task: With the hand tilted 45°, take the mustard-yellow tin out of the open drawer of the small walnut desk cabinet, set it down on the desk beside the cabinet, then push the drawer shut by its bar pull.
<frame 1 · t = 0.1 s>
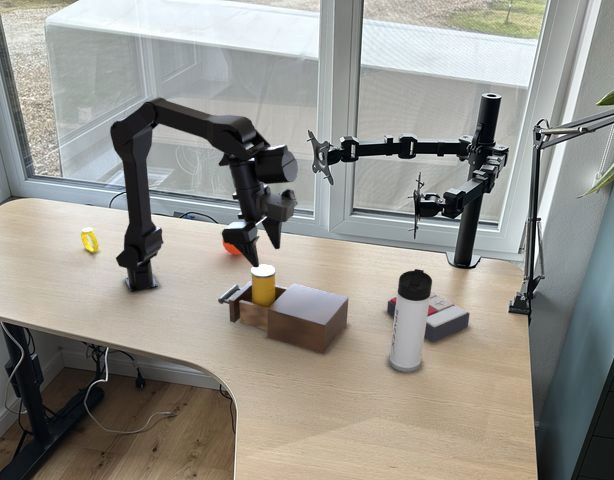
hand: (267, 257, 137), 15 cm above the table, tool pointing down, fingers open, 9 cm apart
drawer: (258, 303, 145), point 4 cm above the table, slide at 8.5 cm, touching tin
cabinet: (307, 331, 143), on the table
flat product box: (426, 320, 147), on the table
watch: (91, 251, 171), on the table
travel mug: (404, 363, 134), on the table
tin: (264, 312, 145), point 2 cm above the table, touching drawer
clementine: (234, 253, 172), on the table
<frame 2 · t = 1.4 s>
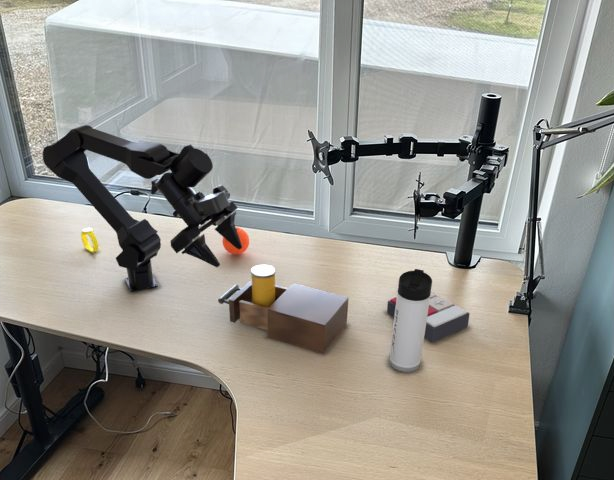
hand: (230, 257, 141), 13 cm above the table, tool tilted 45°, fingers open, 9 cm apart
nothing on the table moved.
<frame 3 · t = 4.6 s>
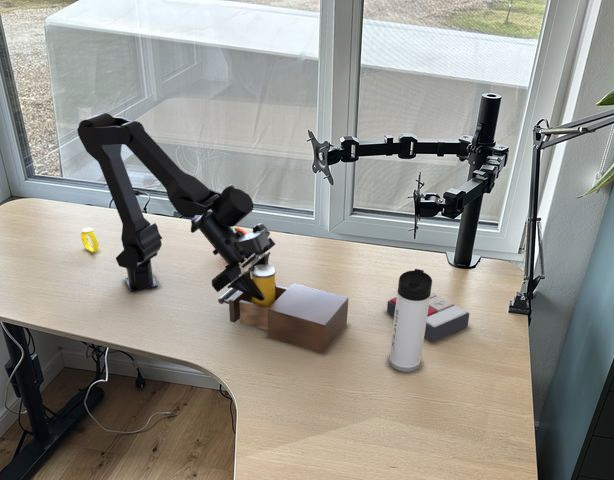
hand: (269, 294, 142), 7 cm above the table, tool tilted 45°, fingers closed on tin, 5 cm apart
tin: (264, 312, 145), point 2 cm above the table, touching drawer, gripper
everything else where it was.
when the fingers open (5 cm above the table, at t = 11.4 s): tin stays where it is, on the table.
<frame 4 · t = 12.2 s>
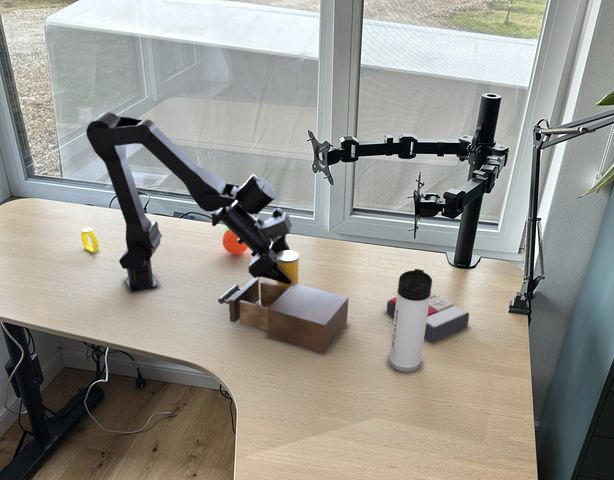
hand: (293, 273, 151), 6 cm above the table, tool tilted 45°, fingers open, 9 cm apart
drawer: (258, 303, 145), point 4 cm above the table, slide at 8.5 cm
tin: (287, 295, 155), on the table
everything else where it was.
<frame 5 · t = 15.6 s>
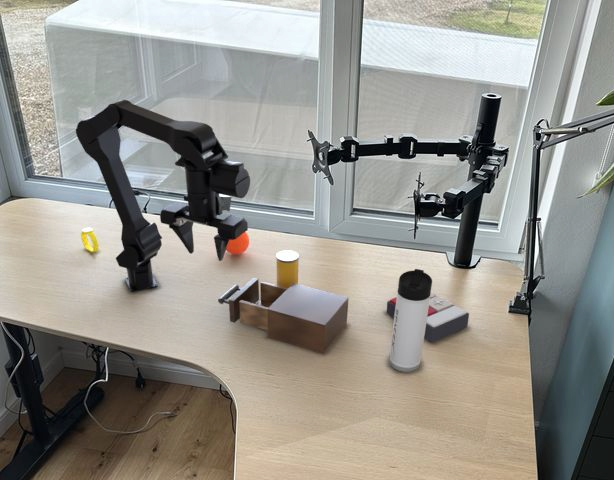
hand: (206, 256, 144), 12 cm above the table, tool pointing down, fingers open, 7 cm apart
nothing on the table moved.
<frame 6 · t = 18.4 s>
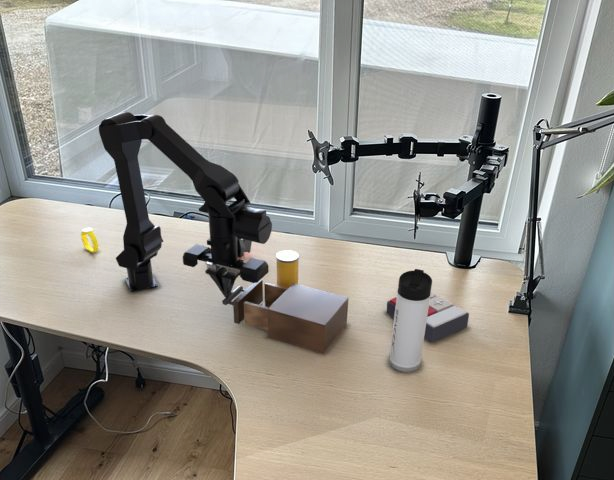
hand: (227, 296, 148), 3 cm above the table, tool pointing down, fingers closed
drawer: (262, 304, 144), point 4 cm above the table, slide at 7.5 cm, touching gripper
everything else where it was.
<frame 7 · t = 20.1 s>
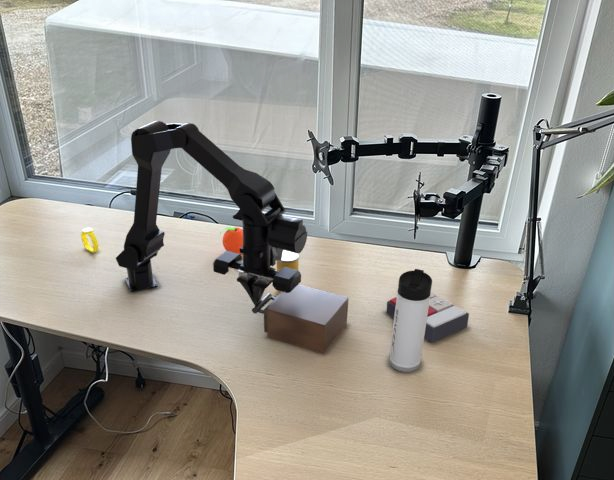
hand: (256, 304, 145), 3 cm above the table, tool pointing down, fingers closed
drawer: (292, 313, 142), point 4 cm above the table, slide at 0.0 cm, touching cabinet, gripper
everything else where it was.
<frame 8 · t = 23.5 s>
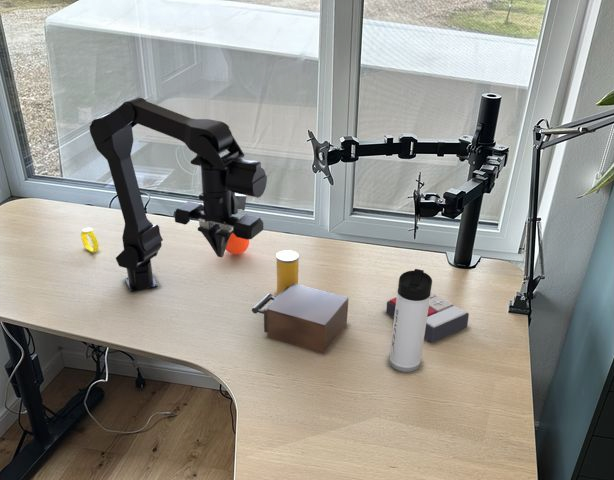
hand: (220, 256, 142), 13 cm above the table, tool pointing down, fingers closed
drawer: (292, 313, 142), point 4 cm above the table, slide at 0.0 cm, touching cabinet
everything else where it was.
at the end: tin inside the target area (0.1 cm from its centre), on the table; tin tilted 0°; drawer slide at 0.0 cm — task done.
